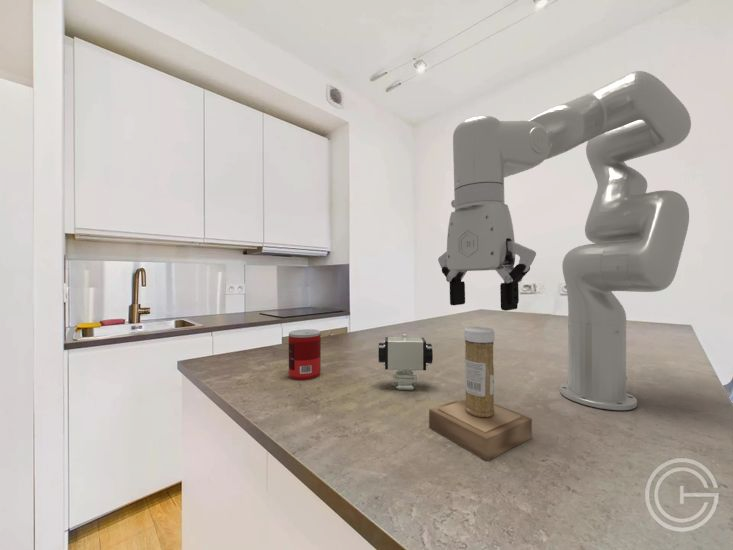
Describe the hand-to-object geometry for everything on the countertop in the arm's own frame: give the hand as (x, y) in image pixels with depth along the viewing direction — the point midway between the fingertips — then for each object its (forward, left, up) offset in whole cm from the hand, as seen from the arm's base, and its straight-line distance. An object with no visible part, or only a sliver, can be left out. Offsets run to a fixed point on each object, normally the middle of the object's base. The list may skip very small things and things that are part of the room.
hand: (481, 306), depth 50 cm
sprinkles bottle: (0, 0, -17) cm, 17 cm away
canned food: (+14, -42, -20) cm, 49 cm away
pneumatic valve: (-2, -22, -20) cm, 30 cm away
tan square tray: (+1, 0, -20) cm, 20 cm away
